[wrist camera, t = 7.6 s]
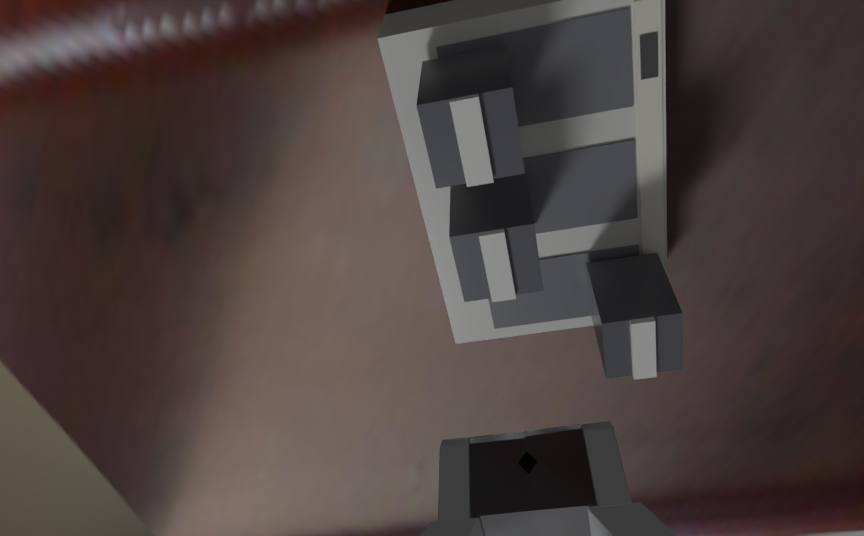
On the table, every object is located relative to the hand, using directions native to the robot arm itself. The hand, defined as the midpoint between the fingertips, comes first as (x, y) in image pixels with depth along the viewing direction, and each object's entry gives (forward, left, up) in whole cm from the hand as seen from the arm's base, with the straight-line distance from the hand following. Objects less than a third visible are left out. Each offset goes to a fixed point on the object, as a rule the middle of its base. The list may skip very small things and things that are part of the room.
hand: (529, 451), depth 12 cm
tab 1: (+1, -1, -16) cm, 16 cm away
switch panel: (-1, +4, -19) cm, 20 cm away
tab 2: (-4, +9, -16) cm, 19 cm away
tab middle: (+1, +4, -16) cm, 17 cm away
